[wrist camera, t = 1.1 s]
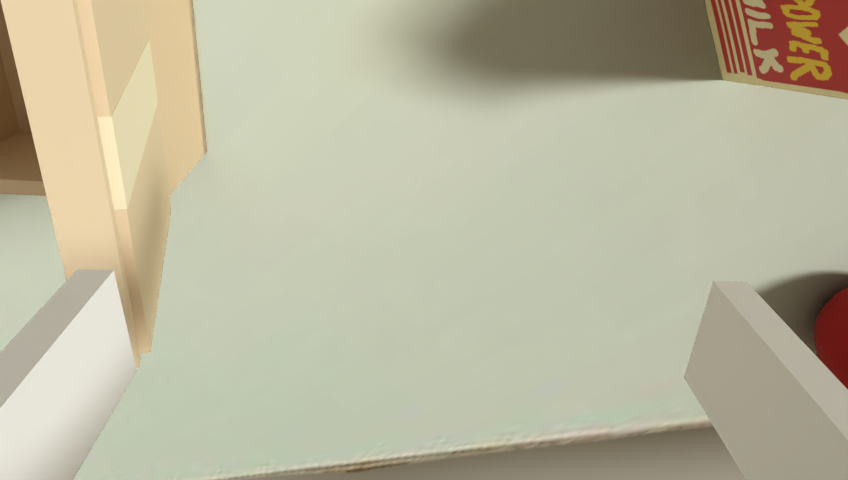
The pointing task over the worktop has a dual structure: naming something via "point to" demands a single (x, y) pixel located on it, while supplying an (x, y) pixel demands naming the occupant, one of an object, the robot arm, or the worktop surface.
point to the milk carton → (783, 43)
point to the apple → (834, 335)
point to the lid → (98, 142)
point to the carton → (176, 92)
